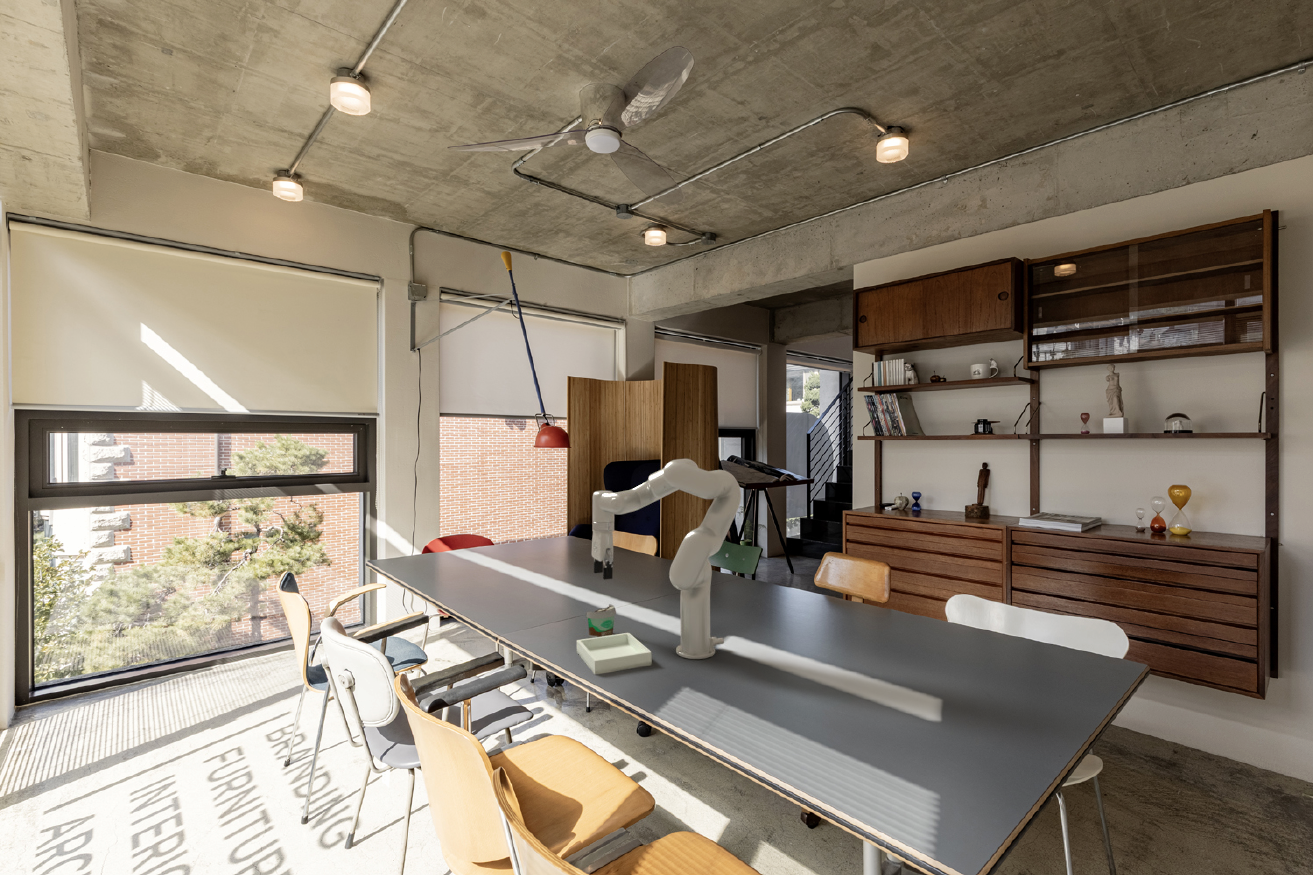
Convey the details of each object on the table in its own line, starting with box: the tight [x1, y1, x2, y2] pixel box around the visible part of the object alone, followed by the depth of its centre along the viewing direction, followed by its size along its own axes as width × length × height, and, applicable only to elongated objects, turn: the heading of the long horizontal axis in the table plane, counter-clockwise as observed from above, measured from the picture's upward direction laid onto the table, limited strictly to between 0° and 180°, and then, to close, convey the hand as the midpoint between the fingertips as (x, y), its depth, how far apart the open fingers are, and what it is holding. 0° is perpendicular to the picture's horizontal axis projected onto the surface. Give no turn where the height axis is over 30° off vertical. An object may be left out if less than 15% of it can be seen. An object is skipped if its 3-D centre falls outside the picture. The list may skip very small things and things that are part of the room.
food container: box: [586, 603, 617, 638], centre depth 210 cm, size 12×6×10 cm, turn 143°
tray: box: [576, 632, 653, 676], centre depth 190 cm, size 18×20×4 cm
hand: (602, 575), depth 210 cm, fingers open, 9 cm apart
